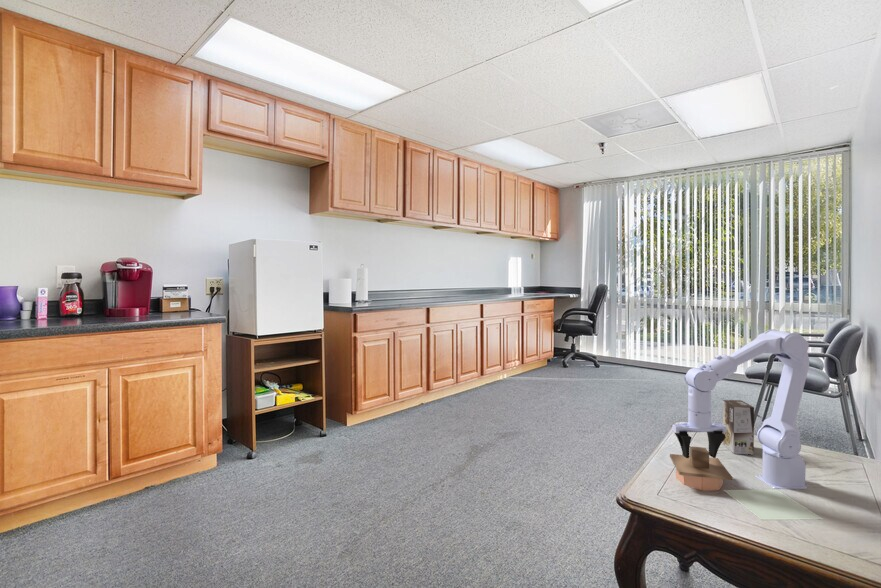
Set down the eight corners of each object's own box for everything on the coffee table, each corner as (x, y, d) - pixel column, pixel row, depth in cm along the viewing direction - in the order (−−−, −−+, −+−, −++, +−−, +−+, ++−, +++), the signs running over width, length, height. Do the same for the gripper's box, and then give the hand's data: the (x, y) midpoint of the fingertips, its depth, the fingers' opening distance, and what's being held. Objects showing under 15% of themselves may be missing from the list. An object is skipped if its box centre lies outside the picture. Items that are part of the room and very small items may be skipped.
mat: (777, 491, 122) (777, 489, 122) (823, 521, 107) (823, 519, 107) (723, 491, 122) (723, 490, 122) (761, 521, 107) (761, 519, 107)
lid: (717, 460, 132) (717, 443, 131) (732, 480, 119) (732, 461, 119) (669, 456, 135) (669, 439, 135) (679, 474, 123) (679, 456, 123)
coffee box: (754, 455, 146) (755, 407, 146) (733, 454, 147) (733, 406, 147) (741, 444, 155) (742, 399, 154) (721, 443, 156) (722, 399, 156)
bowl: (706, 473, 133) (706, 459, 133) (730, 491, 122) (730, 475, 122) (670, 474, 133) (670, 459, 133) (690, 492, 122) (690, 476, 122)
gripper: (716, 405, 131) (715, 450, 131) (667, 406, 131) (667, 451, 131) (731, 413, 124) (731, 460, 124) (679, 413, 124) (679, 461, 124)
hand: (699, 456), depth 127 cm, fingers open, 7 cm apart
